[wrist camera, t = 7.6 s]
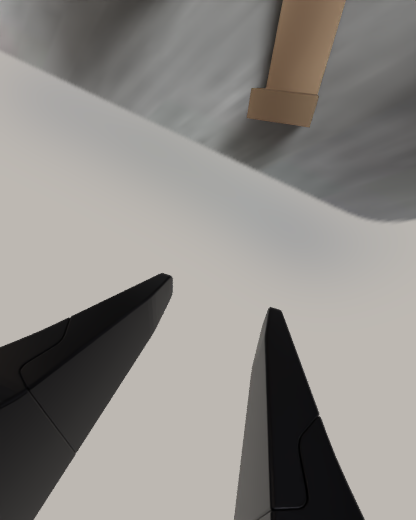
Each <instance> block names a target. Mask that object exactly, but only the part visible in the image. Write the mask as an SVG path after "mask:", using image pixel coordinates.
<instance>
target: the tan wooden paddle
mask: <svg viewBox="0 0 416 520" xmlns="http://www.w3.org/2000/svg"><path fill="white" fill-rule="evenodd" d="M345 1H346V0H283V3H282V8H281V13H280V18H279V23H278V29H277V34H276V39H275V44H274V49H273V54H272V60H271V65H270V70H269V75H268V80H267V85H266V88H252V89H251V95H250V101H249V107H248V113H247V118H250V119H257V120H264V121H270V122H277V123H284V124H290V125H297V126H304V127H310V124H311V120H312V117H313V114H314V111H315V107H316V104H317V101H318V98H319V96H318V95H317V94H318V91H319V88H320V84H321V81H322V78H323V74H324V71H325V68H326V64H327V61H328V58H329V55H330V51H331V48H332V45H333V41H334V38H335V35H336V31H337V28H338V25H339V21H340V18H341V15H342V11H343V8H344V5H345Z"/></svg>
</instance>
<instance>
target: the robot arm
mask: <svg viewBox="0 0 416 520" xmlns="http://www.w3.org/2000/svg"><path fill="white" fill-rule="evenodd" d="M172 284H173V278H172V277H171V276H170V275H167V274H164V273H161V274H158V275H156V276H154V277H152V278H150V279H148V280H146V281H144V282H142V283H140V284H138V285H136V286H134V287H131V288H129V289H127V290H125V291H124V292H121V293H119V294H117V295H115V296H113V297H111V298H109V299H106V300H104V301H102V302H100V303H98V304H96V305H94V306H92V307H90V308H88V309H86V310H84V311H81V312H80V313H77V314H75V315H73V316H71V318H67V319H65V320H63V321H60V322H58V323H56V324H54V325H52V326H50V327H48V328H45V329H43V330H41V331H39V332H36V333H34V334H32V335H29V336H27V337H24V338H22V339H20V340H17V341H15V342H12V343H10V344H7V345H5V346H2V347H0V520H34V518H35V517H36V515H37V514H38V512H39V510H40V509H41V507H42V506H43V504H44V503H45V501H46V499H47V498H48V496H49V495H50V493H51V492H52V490H53V489H54V487H55V485H56V484H57V482H58V481H59V479H60V478H61V476H62V475H63V473H64V472H65V470H66V468H67V467H68V465H69V464H70V462H71V461H72V459H73V458H74V456H75V454H76V452H77V451H78V449H79V448H80V446H81V445H82V443H83V442H84V440H85V439H86V437H87V435H88V434H89V432H90V431H91V429H92V428H93V426H94V424H95V423H96V421H97V420H98V418H99V417H100V415H101V414H102V412H103V411H104V409H105V407H106V406H107V404H108V403H109V401H110V400H111V398H112V397H113V395H114V394H115V392H116V390H117V389H118V387H119V386H120V384H121V382H122V381H123V380H124V378H125V376H126V375H127V373H128V372H129V370H130V369H131V367H132V366H133V364H134V362H135V361H136V359H137V358H138V356H139V355H140V353H141V352H142V350H143V348H144V347H145V345H146V343H147V342H148V341H149V339H150V338H151V336H152V334H153V333H154V331H155V329H156V327H157V325H158V323H159V321H160V319H161V317H162V315H163V313H164V311H165V309H166V307H167V305H168V303H169V300H170V298H171V296H172V292H173V285H172ZM249 389H250V390H249V397H248V405H247V414H246V423H245V431H244V439H243V448H242V456H241V465H240V474H239V482H238V491H237V499H236V508H235V516H234V520H365V519H364V517H363V515H362V513H361V511H360V509H359V507H358V505H357V502H356V500H355V498H354V496H353V494H352V492H351V489H350V487H349V485H348V483H347V481H346V479H345V476H344V474H343V472H342V470H341V467H340V465H339V463H338V460H337V458H336V456H335V453H334V451H333V448H332V446H331V443H330V441H329V438H328V436H327V433H326V430H325V427H324V425H323V422H322V419H321V417H320V416H319V412H318V409H317V406H316V403H315V401H314V398H313V395H312V393H311V390H310V387H309V384H308V381H307V379H306V376H305V373H304V371H303V368H302V365H301V362H300V360H299V357H298V354H297V352H296V349H295V346H294V344H293V341H292V338H291V335H290V332H289V330H288V327H287V324H286V322H285V319H284V316H283V314H282V312H281V310H279V309H275V308H272V307H270V308H269V309H268V311H267V314H266V317H265V320H264V323H263V326H262V330H261V334H260V338H259V342H258V345H257V350H256V354H255V358H254V362H253V366H252V372H251V380H250V388H249Z"/></svg>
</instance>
